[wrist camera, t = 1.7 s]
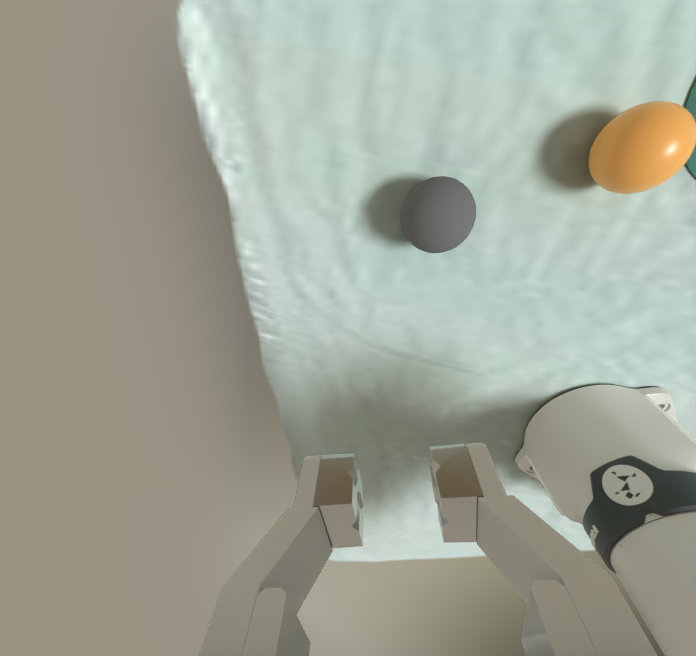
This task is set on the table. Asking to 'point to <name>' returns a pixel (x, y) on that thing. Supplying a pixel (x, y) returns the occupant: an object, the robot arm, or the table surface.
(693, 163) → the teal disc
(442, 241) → the dark grey ball
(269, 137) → the table surface
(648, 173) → the orange ball
